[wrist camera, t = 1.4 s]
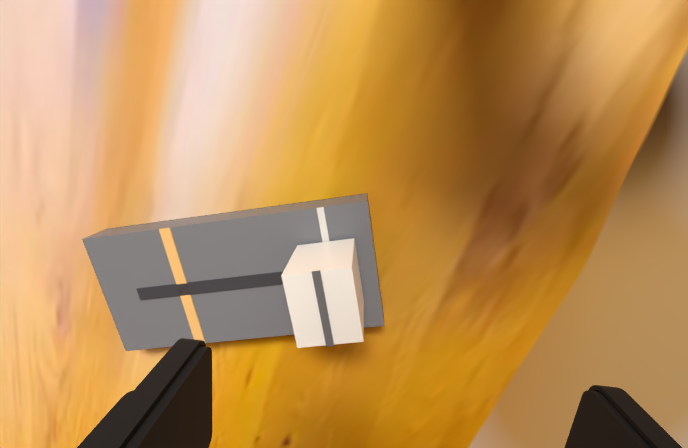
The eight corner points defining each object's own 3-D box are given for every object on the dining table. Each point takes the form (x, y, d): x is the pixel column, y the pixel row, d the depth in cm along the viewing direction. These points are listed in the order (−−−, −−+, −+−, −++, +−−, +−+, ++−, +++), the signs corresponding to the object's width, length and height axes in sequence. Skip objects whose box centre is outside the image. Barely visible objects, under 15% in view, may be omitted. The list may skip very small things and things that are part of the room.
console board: (367, 193, 32) (367, 201, 29) (382, 308, 35) (384, 326, 32) (105, 229, 34) (81, 239, 31) (143, 333, 38) (125, 351, 35)
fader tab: (354, 237, 30) (351, 267, 24) (363, 301, 31) (363, 343, 25) (297, 244, 30) (280, 275, 24) (309, 306, 32) (297, 349, 26)
